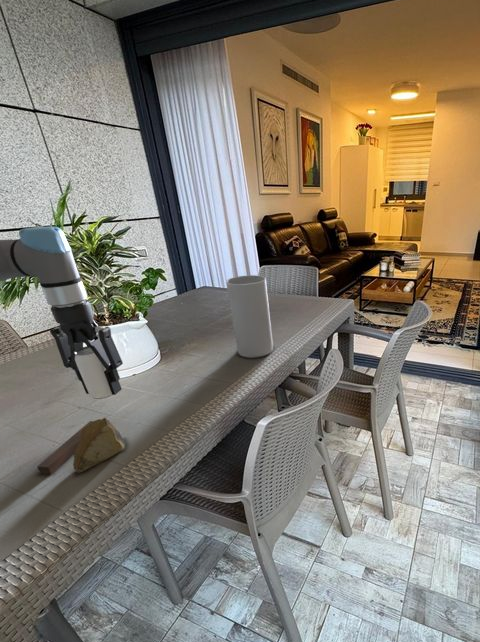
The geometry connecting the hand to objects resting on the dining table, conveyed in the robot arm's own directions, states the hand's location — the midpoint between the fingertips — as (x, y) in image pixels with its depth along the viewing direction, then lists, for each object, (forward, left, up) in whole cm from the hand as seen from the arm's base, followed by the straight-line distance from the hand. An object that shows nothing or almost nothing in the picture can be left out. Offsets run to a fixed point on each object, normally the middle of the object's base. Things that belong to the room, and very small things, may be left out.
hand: (104, 391), depth 89 cm
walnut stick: (0, -14, -7) cm, 16 cm away
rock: (+8, -16, -7) cm, 19 cm away
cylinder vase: (+27, +41, -7) cm, 50 cm away
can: (0, 0, -1) cm, 1 cm away
